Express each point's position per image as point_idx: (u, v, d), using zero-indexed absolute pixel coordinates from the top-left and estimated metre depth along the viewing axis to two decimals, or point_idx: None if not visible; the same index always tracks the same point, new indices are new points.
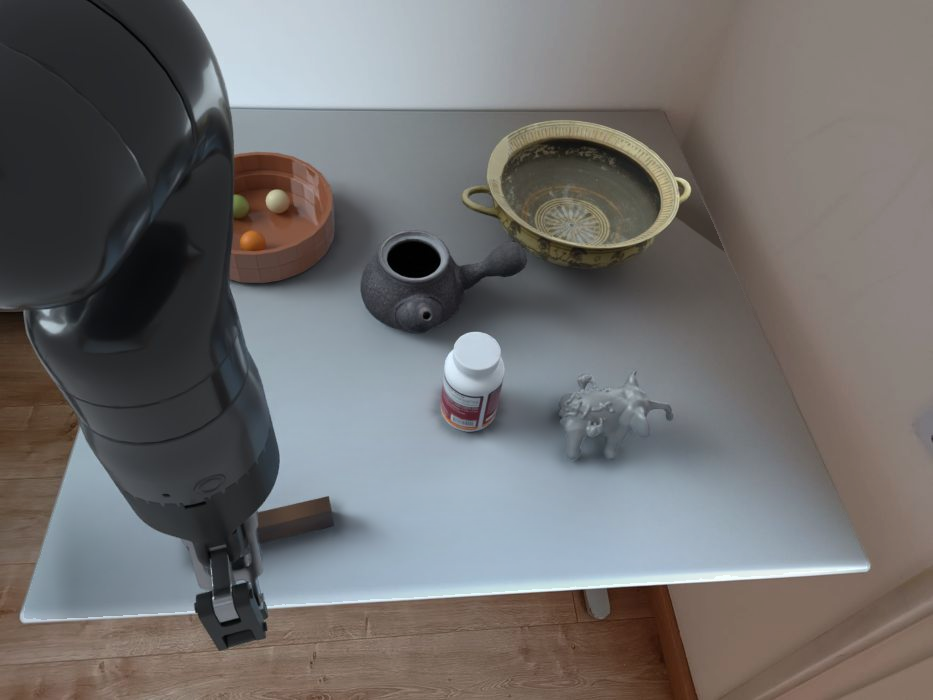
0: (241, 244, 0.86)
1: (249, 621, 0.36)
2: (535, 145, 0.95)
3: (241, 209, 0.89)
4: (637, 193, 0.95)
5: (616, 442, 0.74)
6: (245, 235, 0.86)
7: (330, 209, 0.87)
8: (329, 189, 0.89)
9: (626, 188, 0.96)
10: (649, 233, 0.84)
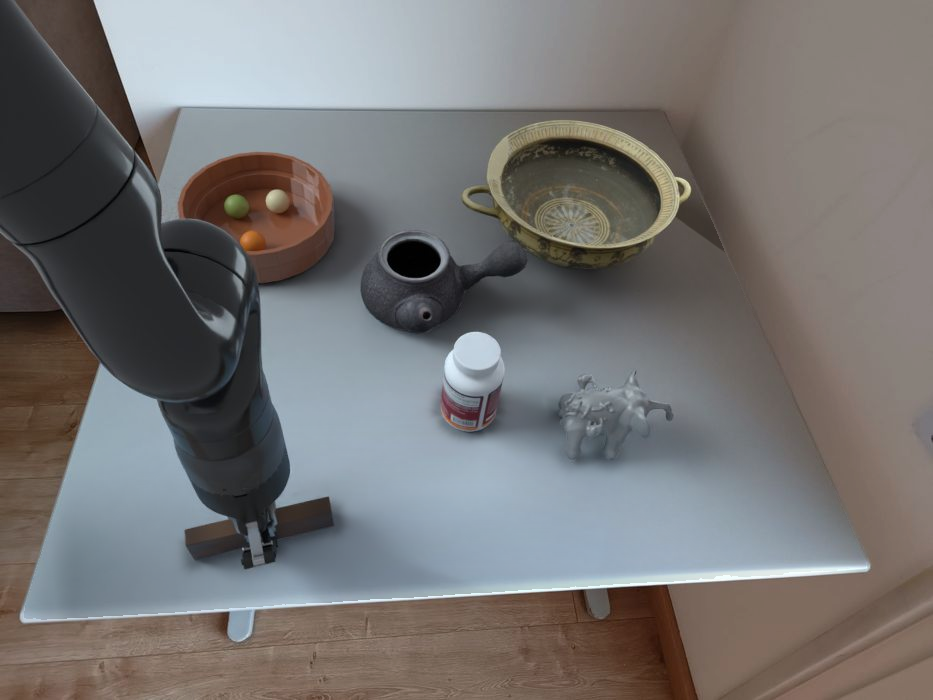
0: (241, 244, 0.86)
1: None
2: (535, 145, 0.95)
3: (241, 209, 0.89)
4: (637, 193, 0.95)
5: (616, 442, 0.74)
6: (245, 235, 0.86)
7: (330, 209, 0.87)
8: (329, 189, 0.89)
9: (626, 188, 0.96)
10: (649, 233, 0.84)
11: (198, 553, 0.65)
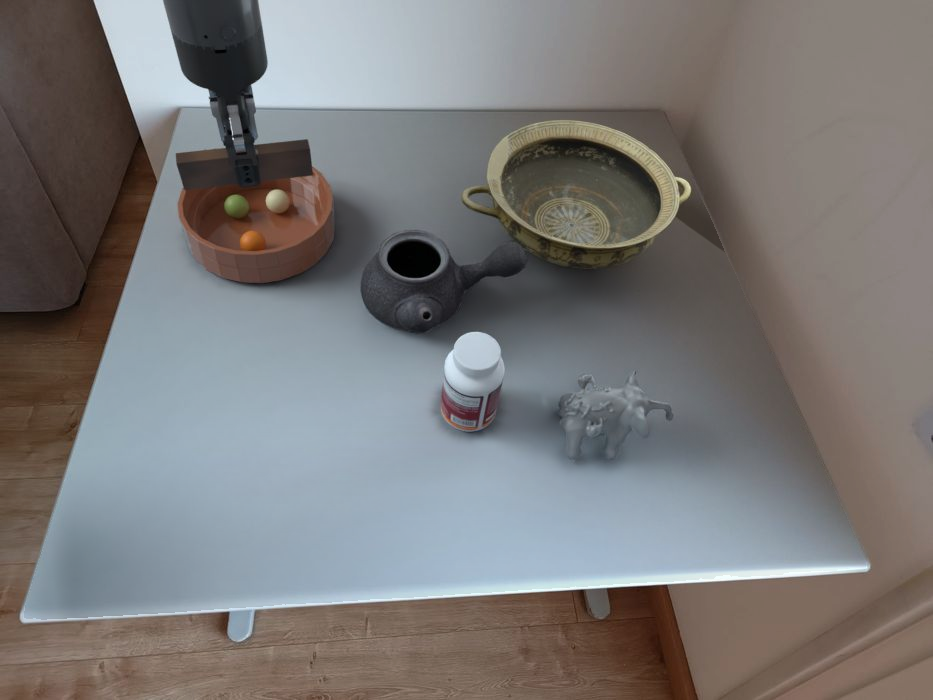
0: (241, 244, 0.86)
1: (251, 154, 0.66)
2: (535, 145, 0.95)
3: (241, 209, 0.89)
4: (637, 193, 0.95)
5: (616, 442, 0.74)
6: (245, 235, 0.86)
7: (330, 209, 0.87)
8: (329, 189, 0.89)
9: (626, 188, 0.96)
10: (649, 233, 0.84)
11: (188, 179, 0.72)
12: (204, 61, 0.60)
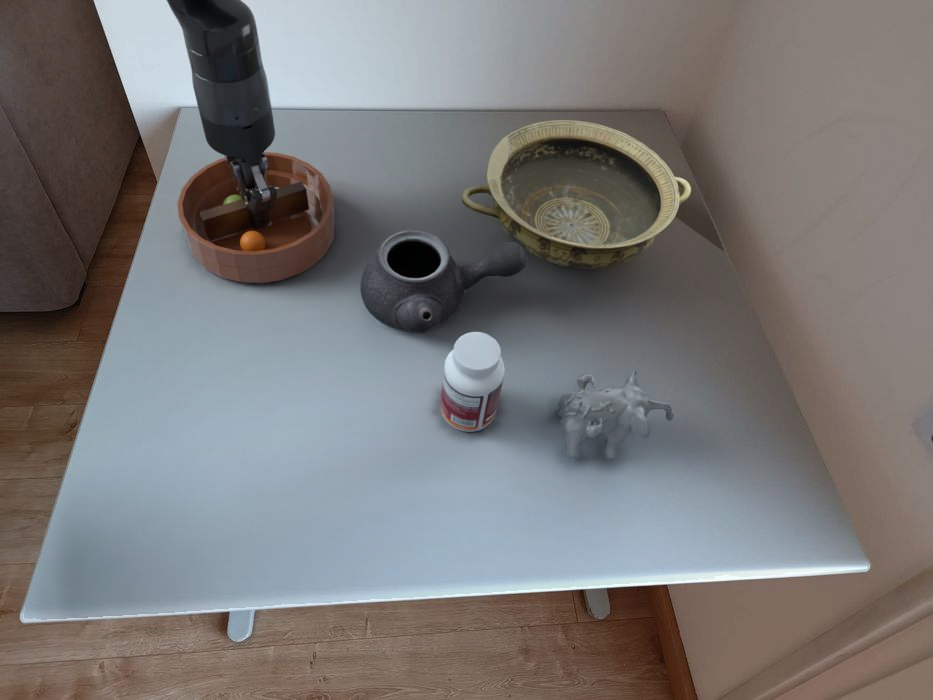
0: (241, 244, 0.86)
1: (272, 202, 0.82)
2: (535, 145, 0.95)
3: None
4: (637, 193, 0.95)
5: (616, 442, 0.74)
6: (245, 235, 0.86)
7: (330, 209, 0.87)
8: (329, 189, 0.89)
9: (626, 188, 0.96)
10: (649, 233, 0.84)
11: (212, 231, 0.87)
12: (234, 136, 0.75)
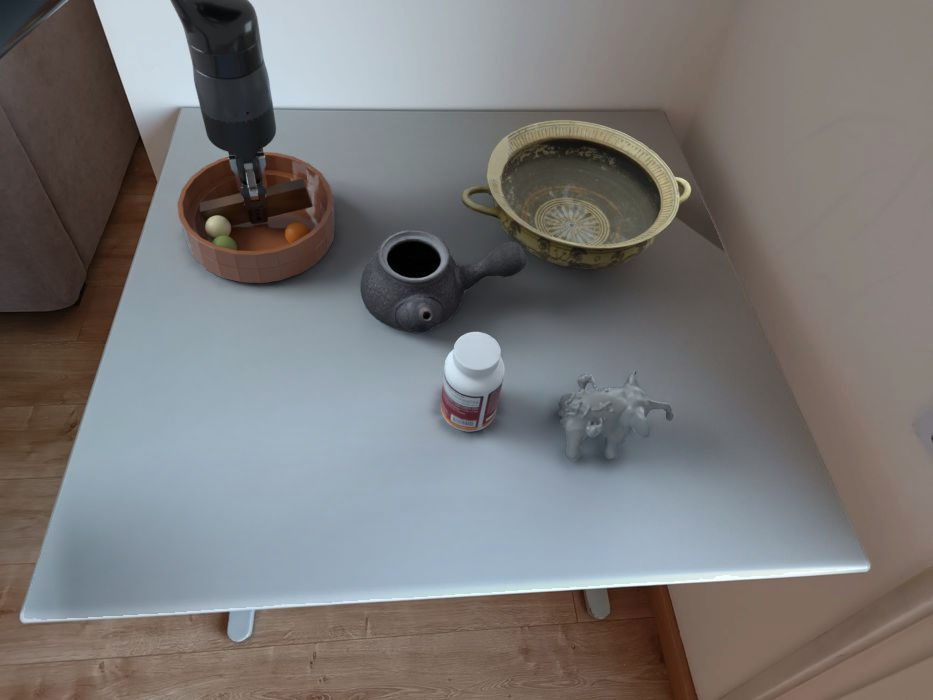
0: (301, 223, 0.88)
1: None
2: (535, 145, 0.95)
3: None
4: (637, 193, 0.95)
5: (616, 442, 0.74)
6: (297, 227, 0.87)
7: (330, 209, 0.87)
8: (329, 189, 0.89)
9: (626, 188, 0.96)
10: (649, 233, 0.84)
11: None
12: None
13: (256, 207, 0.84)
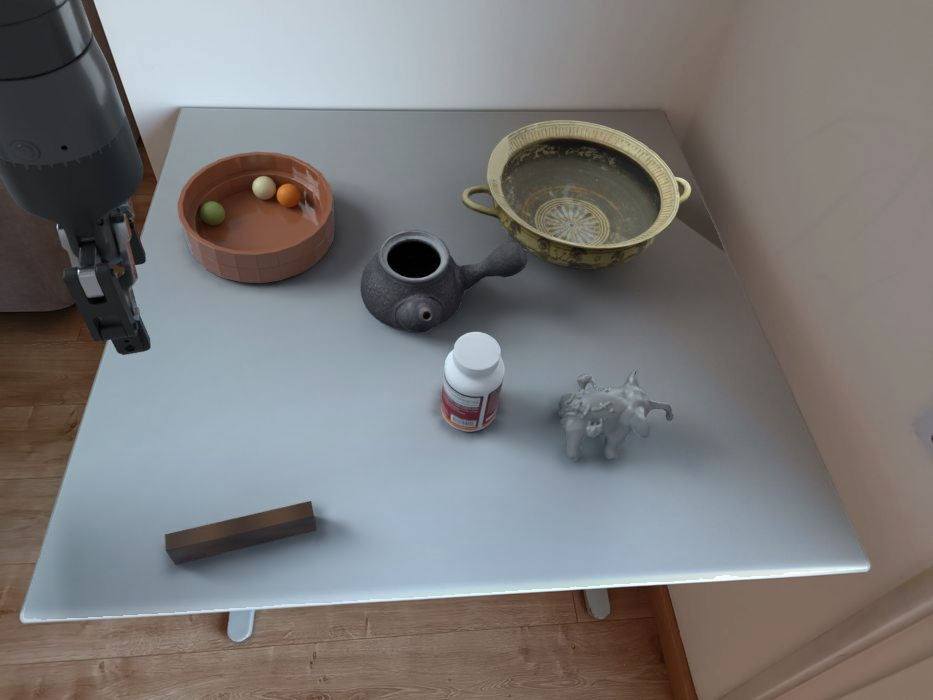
0: (292, 196, 0.91)
1: None
2: (535, 145, 0.95)
3: None
4: (637, 193, 0.95)
5: (616, 442, 0.74)
6: (291, 205, 0.92)
7: (330, 209, 0.87)
8: (329, 189, 0.89)
9: (626, 188, 0.96)
10: (649, 233, 0.84)
11: None
12: None
13: (114, 336, 0.45)
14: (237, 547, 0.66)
